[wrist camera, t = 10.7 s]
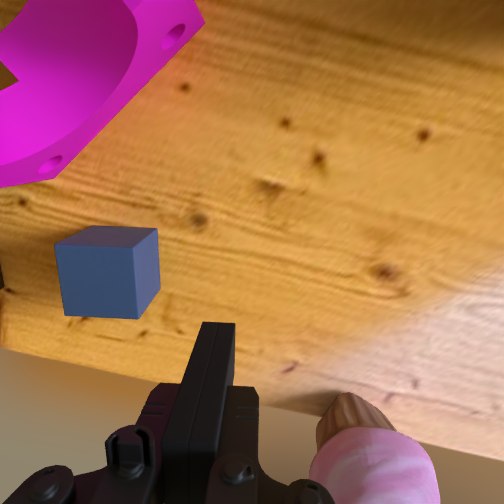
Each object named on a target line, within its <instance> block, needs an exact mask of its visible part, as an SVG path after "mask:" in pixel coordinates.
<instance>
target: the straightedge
mask: <svg viewBox="0 0 504 504" xmlns="http://www.w3.org/2000/svg"><path fill="white" fill-rule="evenodd" d="M4 287H5V286H4V281H3V276H2V271H1V266H0V289H2V288H4Z"/></svg>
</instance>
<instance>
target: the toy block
mask: <svg viewBox="0 0 504 504" xmlns="http://www.w3.org/2000/svg"><path fill="white" fill-rule="evenodd" d="M204 24H205V22H204V20H203V18H202V16H201V14H200V12H199V10H198V8H197V6H196V4H195V2H194V0H28V2H27V3H26V5H25V6H24V8H23V9H22V10H21V12H20V13H19V14H18V15H17V17H16V18H15V19H14V20H13V21H12V22H11V23H10V24H9V25H8V26H7V27H6V28H4V29H3V30H2V31H1V32H0V61H1V62H2V63H3V64H4V65H5V66H6V67H7V68H8V69H9V70H10V71H11V73H12V74H13V75H14V76H15V77H16V78H17V79H18V80H19V81H18V82H16V83H15V84H13V85H11V86H9V87H7V88H5V89H3V90H1V91H0V188H1V187H7V186H13V185H19V184H25V183H30V182H36V181H42V180H48V179H54V178H55V177H56V176H57V175H58V174H59V173H60V172H61V171H62V170H63V169H64V168H65V167H66V166H67V165H68V164H69V163H70V162H71V160H72V159H73V158H74V157H75V156H76V155H77V154H78V153H79V152H80V151H81V150H82V149H83V148H84V147H85V146H86V145H87V144H88V143H89V142H90V141H91V140H92V139H93V138H94V137H95V136H96V135H97V134H98V133H99V132H100V131H101V130H102V129H103V128H104V127H105V126H106V125H107V124H108V123H109V122H110V120H111V119H112V118H113V117H114V116H115V115H116V114H117V113H118V112H119V111H120V110H121V109H122V108H123V107H124V106H125V105H126V104H127V103H128V102H129V101H130V100H131V99H132V98H133V97H134V96H135V95H136V94H137V93H138V92H139V91H140V90H141V89H142V88H143V87H144V86H145V85H146V84H147V83H148V82H149V80H150V79H151V78H152V77H153V76H154V75H155V74H156V73H157V72H158V71H159V70H160V69H161V68H162V67H163V66H164V65H165V64H166V63H167V62H168V61H169V60H170V59H171V58H172V57H173V56H174V55H175V54H176V53H177V52H178V51H179V50H180V49H181V48H182V47H183V46H184V45H185V44H186V43H187V42H188V40H189V39H190V38H191V37H192V36H193V35H194V34H195V33H196V32H197V31H198V30H199V29H200V28H201V27H202V26H203V25H204Z"/></svg>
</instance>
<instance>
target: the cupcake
mask: <svg viewBox="0 0 504 504" xmlns="http://www.w3.org/2000/svg"><path fill="white" fill-rule="evenodd" d="M316 442H317V454H316V456H315V457H314V459H313V461H312V463H311V466H310V470H309V479H310V480H313V481H315V482H318V483H320V484H321V485H322V486H323V487H325V488H326V489H327V490H328V492H329V493H330V495H331V496H332V498H333V500H334V502H335V504H440V494H439V489H438V484H437V480H436V475H435V470H434V467H433V464H432V462H431V460H430V458H429V456H428V455H427V453H426V451H425V450H424V449H423V448H422V447H421V445H420V444H419V443H418V442H416V441H415V440H414V439H412V438H410V437H409V436H406V435H404V434H402V433H399V432H397V430H396V429H395V428H394V427H393V425H392V424H391V423H390V421H389V420H388V419H387V418H386V416H385V415H384V414H383V413H382V412H381V411H380V410H379V409H377V408H376V407H374V406H373V405H371V404H370V403H368V402H367V401H365V400H363V399H362V398H361V397H359V396H357V395H354V394H353V393H350V392H347V393H343V394H340V395H339V396H338V397H337V398H336V400H335V401H334V403H333V404H332V405H331V406H330V407H329V409H328V411H327V413H326V414H325V416H324V417H323V418H322V419H321V420H320V421H319V423H318V425H317V428H316Z"/></svg>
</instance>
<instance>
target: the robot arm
mask: <svg viewBox="0 0 504 504" xmlns="http://www.w3.org/2000/svg"><path fill="white" fill-rule="evenodd" d="M234 363H235V323H220V322H202V325H201V328H200V331H199V334H198V336H197V339H196V342H195V345H194V348H193V351H192V353H191V356H190V359H189V362H188V365H187V368H186V370H185V373H184V376H183V379H182V382H181V384H176V383H160V384H158V385H157V386H156V387H155V388H154V389H153V390H152V391H151V392H150V394H149V396H148V399H147V401H146V403H145V405H144V407H143V409H142V411H141V414H140V416H139V418H138V420H137V422H136V424H135V425H128V426H125V427H123V428H120V429H118V430H117V431H115V432H114V433H112V434H111V435H110V436H109V437H108V439H107V440H106V441H105V449H106V457H107V466H106V467H104V468H102V469H100V470H96V471H94V472H89V473H85V474H80V475H76V476H73V473H72V471H71V469H69V468H68V467H66V466H61V465H54V466H49V467H45V468H43V469H41V470H39V471H37V472H35V473H34V474H33V475H31V476H30V477H29V478H28V479H26V480H25V481H24V482H23V483H22V484H21V485H20V486H19V487H18V488H17V489H16V490H15V491H14V492H13V493H12V494H11V495H10V497H8V499H6V500H5V501H4V502H3V504H335V502H334V500H333V498H332V496H331V495H330V493H329V492H328V490H327V489H326V488H325V487H323V486H322V485H321V484H320V483H318V482H315V481H313V480H310V479H300V480H297V481H294V482H292V483H291V484H290V485H289V486H287V485H284V484H282V483H280V482H277V481H275V480H273V479H272V478H270V477H269V476H268V475H266V474H265V473H264V471H263V470H262V468H261V466H260V464H259V461H258V424H259V423H258V422H259V396H258V394H257V392H256V390H255V388H254V387H247V386H233V379H234Z"/></svg>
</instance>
